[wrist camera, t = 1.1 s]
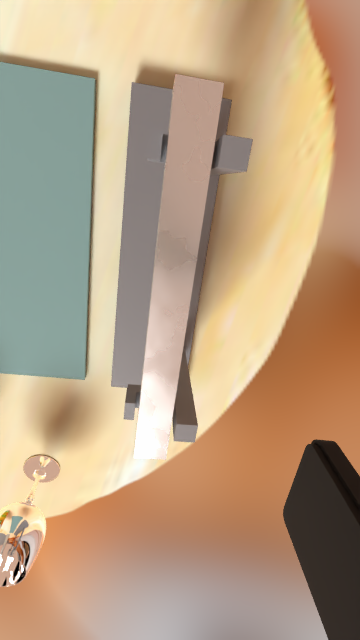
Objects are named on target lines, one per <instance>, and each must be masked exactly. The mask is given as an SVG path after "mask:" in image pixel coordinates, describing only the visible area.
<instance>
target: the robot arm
mask: <svg viewBox="0 0 360 640" xmlns="http://www.w3.org/2000/svg"><path fill="white" fill-rule="evenodd" d="M283 516H284V521H285V524H286V527H287V529H288V532H289V535H290V538H291V540H292V543H293V546H294V548H295V551H296V554H297V556H298V559H299V562H300V564H301V567H302V570H303V572H304V575H305V578H306V580H307V583H308V586H309V589H310V591H311V594H312V596H313V599H314V602H315V605H316V607H317V610H318V613H319V615H320V618H321V621H322V623H323V626H324V629H325V631H326V634H327V637H328V640H360V476H359V475H358V473H357V472H356V471H355V469H354V468H353V466H352V465H351V463H350V462H349V460H348V459H347V457H346V456H345V455H344V453H343V452H342V450H341V449H340V447H339V446H338V445H337V443H336V442H334V441H325V440H313V441H312V443H311V444H308V445H307V446H306V448H305V451H304V454H303V456H302V459H301V462H300V464H299V468H298V470H297V473H296V476H295V478H294V481H293V484H292V487H291V490H290V492H289V495H288V498H287V500H286V503H285V506H284V510H283Z"/></svg>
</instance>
